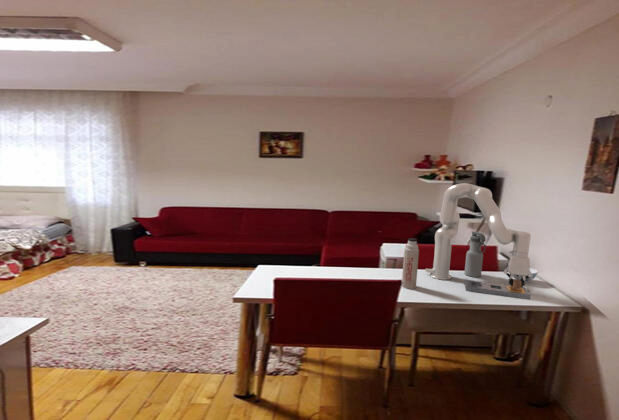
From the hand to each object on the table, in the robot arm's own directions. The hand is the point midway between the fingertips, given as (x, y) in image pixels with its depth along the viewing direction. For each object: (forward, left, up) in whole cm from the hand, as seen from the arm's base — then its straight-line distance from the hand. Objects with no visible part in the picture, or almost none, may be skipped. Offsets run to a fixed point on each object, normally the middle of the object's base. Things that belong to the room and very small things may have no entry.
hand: (516, 285), depth 201 cm
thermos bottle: (-57, -12, -5) cm, 58 cm away
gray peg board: (-10, 0, -5) cm, 11 cm away
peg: (0, 0, -5) cm, 5 cm away
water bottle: (-19, +26, -5) cm, 33 cm away
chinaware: (+9, +26, -5) cm, 28 cm away
